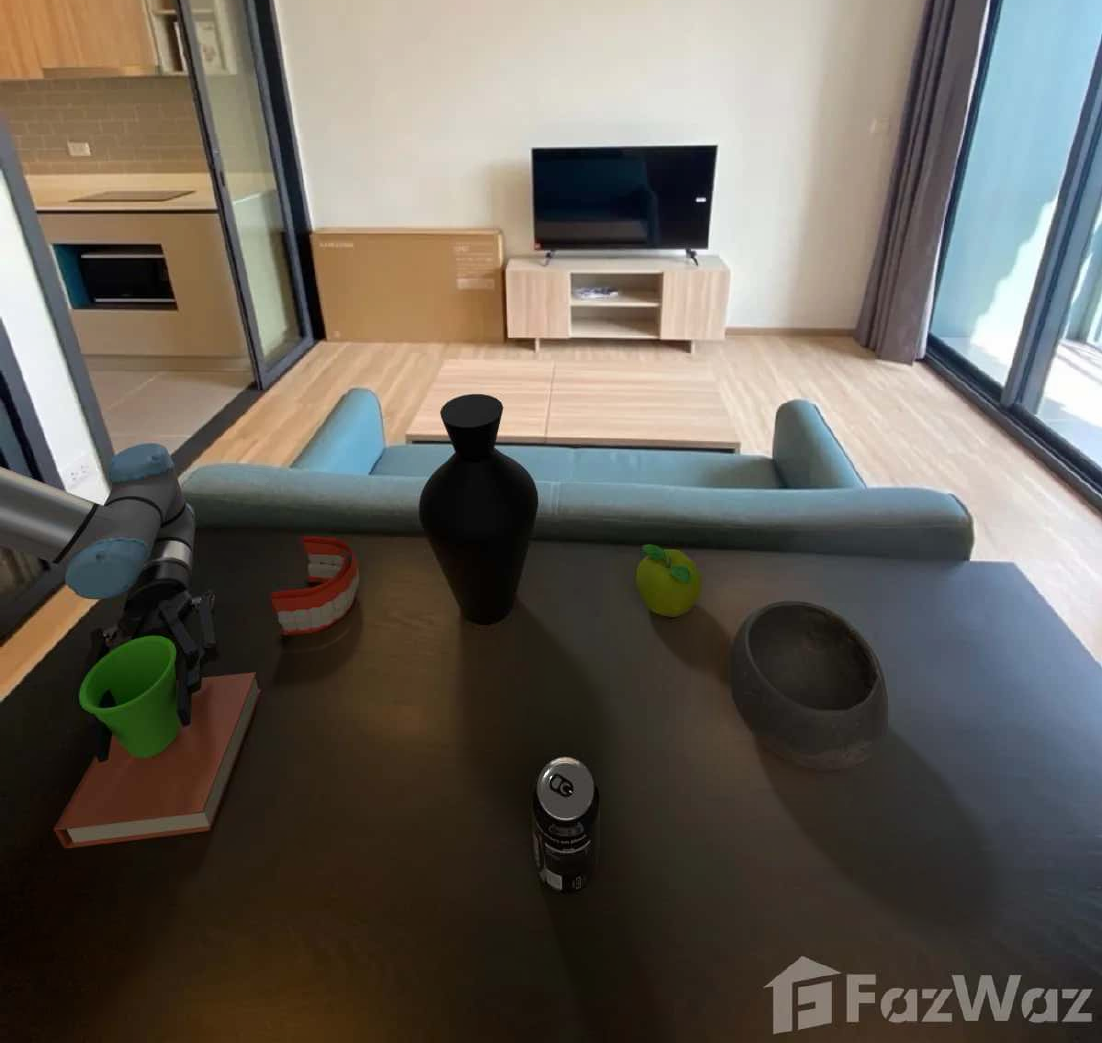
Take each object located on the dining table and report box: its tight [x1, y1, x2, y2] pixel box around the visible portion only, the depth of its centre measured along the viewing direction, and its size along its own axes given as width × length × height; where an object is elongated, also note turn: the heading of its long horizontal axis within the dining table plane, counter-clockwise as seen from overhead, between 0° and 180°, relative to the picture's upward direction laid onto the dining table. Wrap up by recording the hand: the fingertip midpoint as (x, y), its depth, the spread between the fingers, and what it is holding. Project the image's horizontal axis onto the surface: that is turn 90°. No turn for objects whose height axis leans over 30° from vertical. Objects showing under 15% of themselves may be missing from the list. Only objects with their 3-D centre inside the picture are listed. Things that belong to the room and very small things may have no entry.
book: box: [53, 671, 262, 850], centre depth 71 cm, size 15×16×4 cm
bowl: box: [727, 600, 889, 771], centre depth 73 cm, size 18×18×13 cm
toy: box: [269, 535, 360, 636], centre depth 91 cm, size 12×10×8 cm
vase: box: [418, 393, 539, 626], centre depth 86 cm, size 17×17×35 cm
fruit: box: [635, 543, 702, 618], centre depth 89 cm, size 9×9×10 cm
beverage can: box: [530, 756, 601, 895], centre depth 60 cm, size 7×7×12 cm
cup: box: [79, 636, 181, 758], centre depth 68 cm, size 9×9×11 cm
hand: (142, 734), depth 63 cm, fingers closed on cup, 7 cm apart
